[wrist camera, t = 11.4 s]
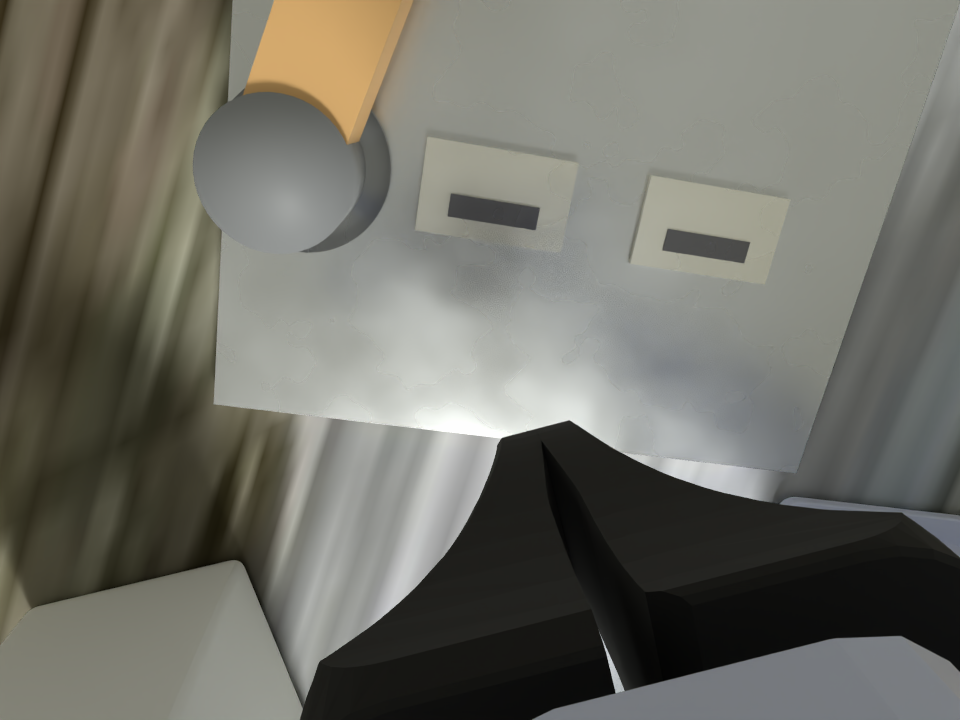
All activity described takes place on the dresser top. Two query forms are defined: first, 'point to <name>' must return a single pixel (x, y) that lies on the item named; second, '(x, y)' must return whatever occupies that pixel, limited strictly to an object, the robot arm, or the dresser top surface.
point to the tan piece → (298, 124)
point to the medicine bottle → (149, 654)
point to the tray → (595, 223)
